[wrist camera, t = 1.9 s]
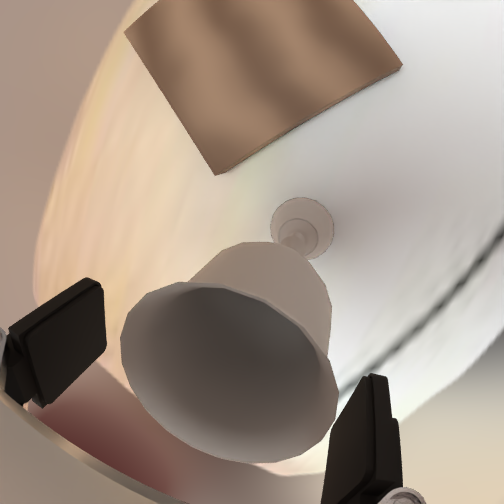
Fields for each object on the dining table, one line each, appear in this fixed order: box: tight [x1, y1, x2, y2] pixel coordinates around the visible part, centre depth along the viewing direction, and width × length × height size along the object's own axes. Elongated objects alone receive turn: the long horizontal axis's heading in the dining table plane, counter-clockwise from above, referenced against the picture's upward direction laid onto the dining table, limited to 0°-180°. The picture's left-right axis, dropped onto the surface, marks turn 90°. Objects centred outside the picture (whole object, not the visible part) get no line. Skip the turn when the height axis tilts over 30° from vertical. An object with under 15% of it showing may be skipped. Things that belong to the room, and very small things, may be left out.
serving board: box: [124, 0, 403, 176], centre depth 20 cm, size 16×16×2 cm
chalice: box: [120, 198, 339, 463], centre depth 17 cm, size 7×7×18 cm
